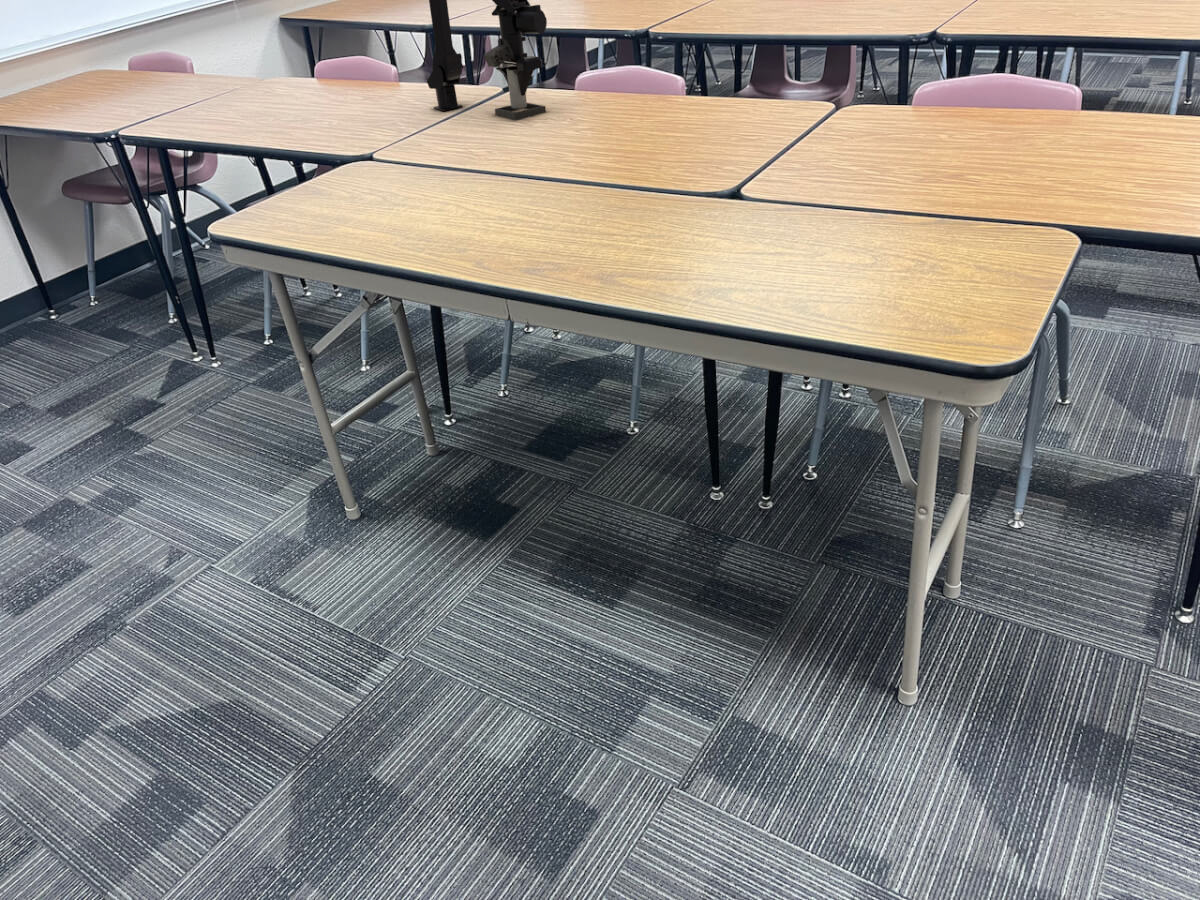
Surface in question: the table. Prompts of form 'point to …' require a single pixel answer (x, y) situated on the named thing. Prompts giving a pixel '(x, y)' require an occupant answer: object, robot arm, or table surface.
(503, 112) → the black square frame
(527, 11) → the robot arm
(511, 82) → the gray cylinder
